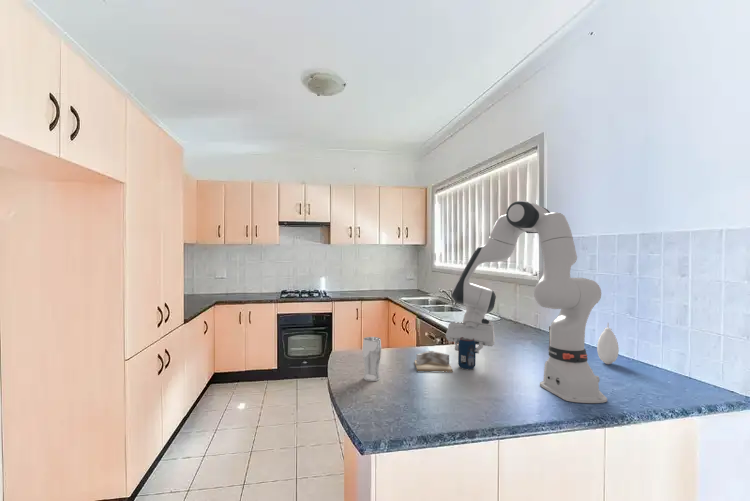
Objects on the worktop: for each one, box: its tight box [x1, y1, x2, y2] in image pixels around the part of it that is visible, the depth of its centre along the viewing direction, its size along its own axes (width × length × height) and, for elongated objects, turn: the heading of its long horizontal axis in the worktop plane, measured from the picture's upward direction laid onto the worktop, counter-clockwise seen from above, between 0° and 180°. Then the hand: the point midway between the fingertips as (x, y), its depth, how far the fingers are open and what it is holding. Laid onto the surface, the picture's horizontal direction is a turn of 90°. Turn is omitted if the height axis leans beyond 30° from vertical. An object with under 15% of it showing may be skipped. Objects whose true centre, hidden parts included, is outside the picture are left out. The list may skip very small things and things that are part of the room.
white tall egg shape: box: [596, 322, 620, 365], centre depth 168 cm, size 8×8×18 cm
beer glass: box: [362, 336, 382, 382], centre depth 145 cm, size 7×7×15 cm
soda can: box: [457, 337, 477, 370], centre depth 160 cm, size 7×7×12 cm
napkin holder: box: [414, 350, 454, 373], centre depth 160 cm, size 13×14×5 cm
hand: (466, 351), depth 160 cm, fingers closed on soda can, 7 cm apart
